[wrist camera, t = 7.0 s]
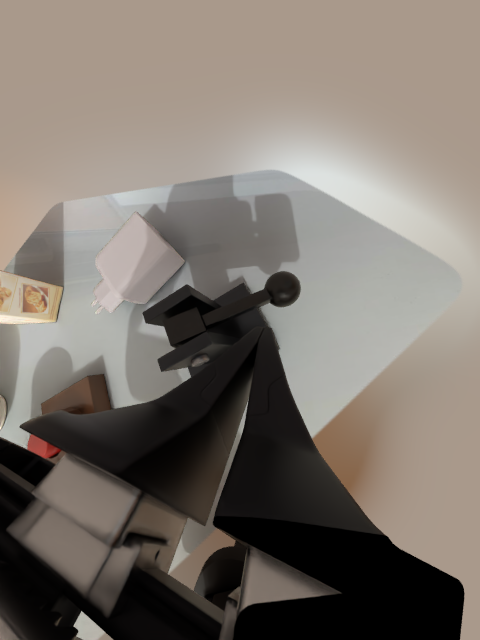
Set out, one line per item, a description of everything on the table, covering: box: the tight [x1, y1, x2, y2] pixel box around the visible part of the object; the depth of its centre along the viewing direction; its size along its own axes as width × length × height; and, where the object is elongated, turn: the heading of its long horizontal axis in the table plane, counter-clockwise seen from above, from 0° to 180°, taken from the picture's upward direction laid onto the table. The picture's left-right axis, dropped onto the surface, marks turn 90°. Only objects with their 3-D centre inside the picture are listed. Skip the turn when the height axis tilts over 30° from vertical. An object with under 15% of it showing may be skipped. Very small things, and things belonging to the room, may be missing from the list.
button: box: [28, 434, 61, 459], centre depth 21 cm, size 4×4×2 cm
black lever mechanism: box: [143, 283, 280, 377], centre depth 17 cm, size 11×9×10 cm
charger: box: [91, 211, 185, 314], centre depth 25 cm, size 5×9×15 cm
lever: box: [162, 271, 301, 348], centre depth 15 cm, size 12×3×3 cm, turn 116°
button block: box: [41, 374, 111, 464], centre depth 23 cm, size 12×10×4 cm
